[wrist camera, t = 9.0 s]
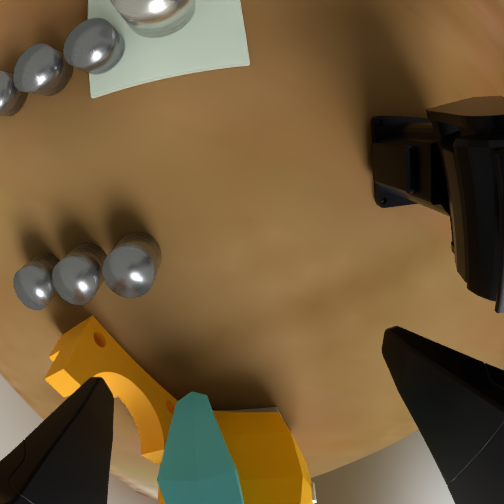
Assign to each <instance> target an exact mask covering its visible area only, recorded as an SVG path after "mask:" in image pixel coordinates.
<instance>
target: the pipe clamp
mask: <svg viewBox="0 0 504 504" xmlns="http://www.w3.org/2000/svg"><path fill="white" fill-rule="evenodd" d="M49 358H50V359H51V360H52V361H53V364H52V366H51V367H50V369H49V371H48V373H47V375H46V377H45V380H46V381H47V382H48V383H49V384H50V385H51V386H52V387H53V388H54V389H56V390H57V391H58V392H59V393H60V394H61V395H62V396H63V397H66V396H69V395H71V394H73V393H74V392H75V391H76V390H77V389H78V388H79V387H80V386H81V385H82V384H83V383H84V382H86V381H87V380H88V379H89V378H90V377H102V378H103V379H104V380H105V382H106V384H107V385H108V387H109V389H110V390H111V392H112V394H113V397H114V398H116V397H119V398H120V399H121V400H122V402H123V403H124V404H125V405H126V407H127V408H128V410H129V411H130V413H131V415H132V417H133V419H134V421H135V423H136V426H137V428H138V431H139V435H140V440H141V455H142V456H144V457H145V458H147V459H149V460H150V461H152V462H154V463H155V464H160V463H161V461H162V457H163V453H164V449H165V445H166V441H167V437H168V433H169V429H170V425H171V421H172V417H173V414H174V410H175V406H176V402H177V400H176V399H175V398H174V397H173V396H172V395H171V394H169V393H168V392H167V391H166V390H165V389H164V388H163V387H162V386H160V385H159V384H158V383H157V382H156V381H155V380H154V379H153V378H152V377H151V376H150V375H149V374H148V373H147V372H146V371H145V370H143V369H142V368H141V367H140V366H139V365H138V364H137V363H136V362H135V361H134V360H133V359H132V358H131V357H130V356H129V355H128V354H127V352H126V351H125V350H124V349H123V348H122V347H121V346H120V345H119V344H118V343H117V342H116V341H115V340H114V339H113V338H112V337H111V335H110V334H109V333H108V332H107V331H106V330H105V329H104V328H103V327H102V325H101V324H100V323H99V322H98V321H97V320H96V318H95V317H94V316H93V315H92V316H91V317H89V318H87V319H86V320H84V321H83V322H81V323H80V324H78V325H77V326H75V327H73V328H72V329H70V330H69V331H67V332H66V333H64V334H63V335H62V336H61V338H60V340H59V341H58V343H57V344H56V346H55V348H54V349H53V351H52V353H51V354H50V356H49Z"/></svg>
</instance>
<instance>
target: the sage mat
mask: <svg viewBox="0 0 504 504" xmlns="http://www.w3.org/2000/svg"><path fill="white" fill-rule="evenodd" d="M195 2H196V8H195V12H194V15H193V17H192V18H191V20H190V21H189V22H188V23H187V24H186V25H185V26H184V27H183V28H182V29H180V30H179V31H177V32H175V33H173V34H171V35H168V36H164V37H159V38H148V37H143V36H140V35H138V34H136V33H135V32H134V31H133V30H132V29H131V28H130V27H129V25H128V24H127V23H126V21H125V20H124V19H123V18H122V16H121V15H120V14H119V13H118V11H117V10H116V9H115V7H114V6H113V5H112V4H111V2H110V0H88V19H92V18H103V19H105V20H107V21H108V22H109V23H110V24H111V25H112V26H113V27H114V28H115V29H116V30H117V31H118V32H119V33H120V34H121V36H122V37H123V38H124V41H125V51H124V54H123V56H122V58H121V60H120V61H119V62H118V64H117V65H116V66H115V67H113V68H112V69H111V70H109V71H107V72H105V73H102V74H97V75H94V74H89V80H90V92H91V98H97V97H100V96H103V95H106V94H109V93H112V92H116V91H119V90H122V89H126V88H129V87H133V86H137V85H140V84H144V83H148V82H152V81H157V80H161V79H165V78H170V77H175V76H180V75H185V74H191V73H196V72H202V71H209V70H216V69H223V68H231V67H241V66H249V65H250V60H249V54H248V47H247V41H246V34H245V28H244V22H243V15H242V9H241V3H240V0H195Z"/></svg>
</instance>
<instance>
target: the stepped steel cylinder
mask: <svg viewBox="0 0 504 504" xmlns="http://www.w3.org/2000/svg"><path fill="white" fill-rule="evenodd" d="M110 2H111V4H112V5H113V6H114V7H115V9H116V10H117V11H118V13H119V14H120V15H121V16H122V18H123V19H124V20H125V21H126V23H127V24H128V25H129V27H130V28H131V29H132V30H133V31H134V32H135V33H136V34H138V35H140V36H143V37H148V38H159V37H164V36H168V35H171V34H173V33H175V32H177V31H179V30H180V29H182V28H183V27H184V26H185V25H186V24H187V23H188V22H189V21H190V20H191V18H192V17H193V15H194V12H195V8H196V2H195V0H110Z"/></svg>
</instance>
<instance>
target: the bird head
mask: <svg viewBox="0 0 504 504" xmlns="http://www.w3.org/2000/svg"><path fill="white" fill-rule="evenodd" d="M157 481H158V484H159V491H158V499H159V502H160V504H314V503H316V495H315V485H314V483H313V482H311V479H310V475H309V472H308V469H307V465H306V462H305V459H304V457H303V455H302V453H301V451H300V449H299V447H298V445H297V444H296V442H295V440H294V438H293V436H292V434H291V432H290V430H289V428H288V427H287V425H286V424H285V422H284V420H283V418H282V416H281V414H280V412H279V410H278V408H277V407H269V408H257V409H242V410H220V411H215V410H212V408H211V405H210V402H209V399H208V397H207V395H204V394H200V393H196V392H190V393H189V394H187V395H186V396H184V397H183V398H182V399H180V400H179V401H177V402H176V406H175V410H174V414H173V417H172V421H171V425H170V429H169V433H168V437H167V441H166V445H165V449H164V453H163V457H162V461H161V463H160V469H159V473H158V478H157Z"/></svg>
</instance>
